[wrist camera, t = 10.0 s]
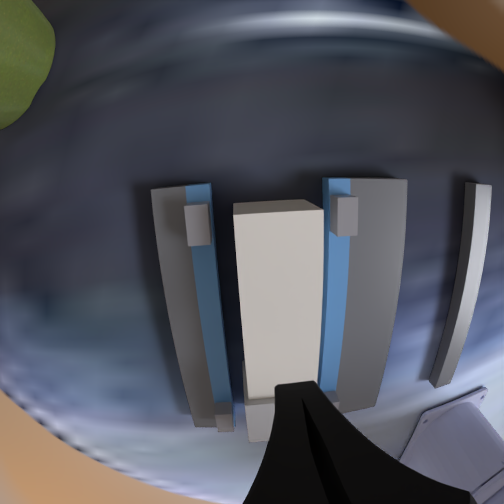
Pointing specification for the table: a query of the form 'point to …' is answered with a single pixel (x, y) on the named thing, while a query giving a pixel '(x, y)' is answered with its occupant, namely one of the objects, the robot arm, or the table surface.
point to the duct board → (334, 290)
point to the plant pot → (22, 56)
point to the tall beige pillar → (278, 300)
